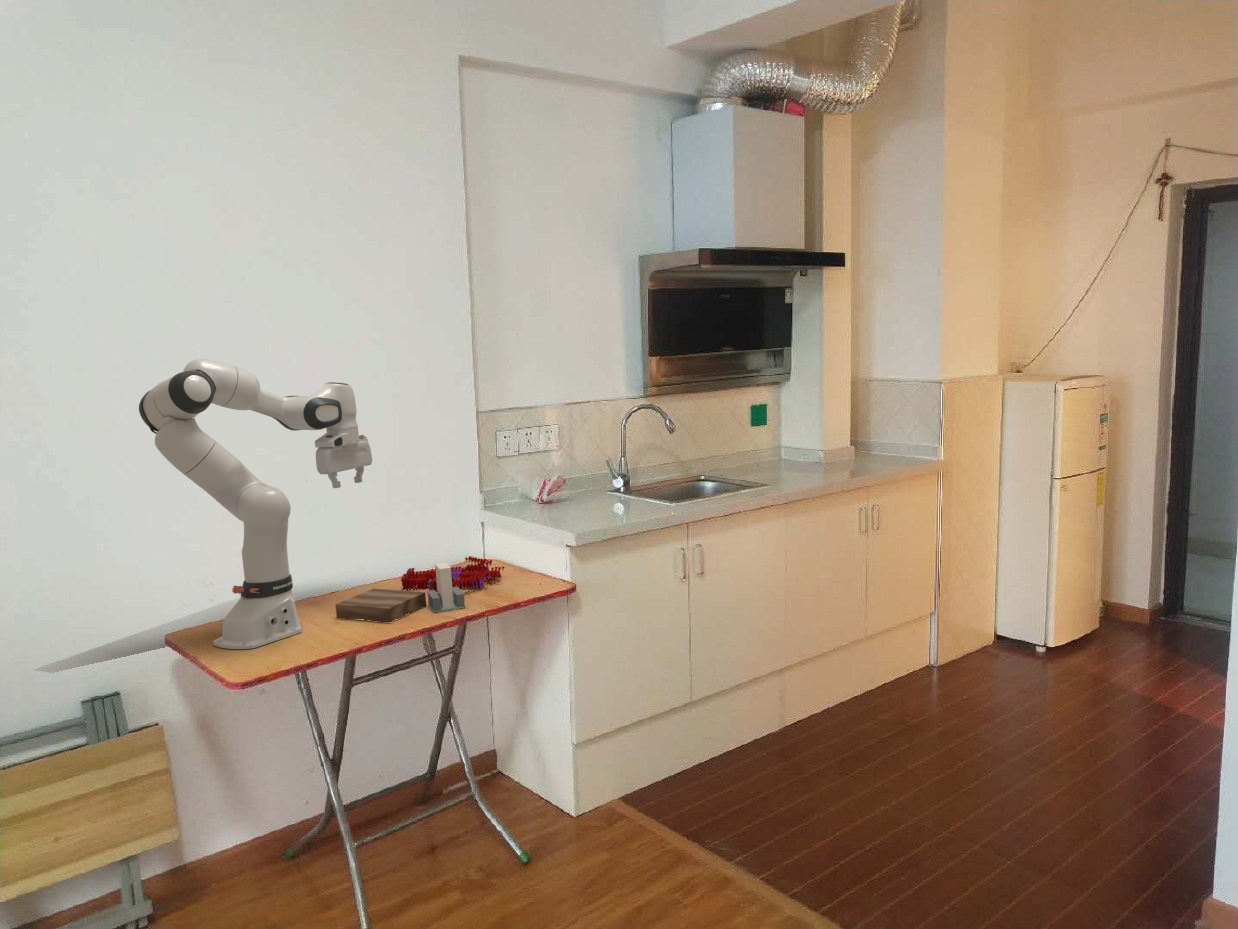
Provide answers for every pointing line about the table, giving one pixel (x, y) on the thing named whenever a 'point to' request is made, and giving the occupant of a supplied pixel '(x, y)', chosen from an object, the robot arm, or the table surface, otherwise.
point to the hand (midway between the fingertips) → (347, 485)
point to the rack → (436, 605)
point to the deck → (381, 605)
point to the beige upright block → (444, 584)
